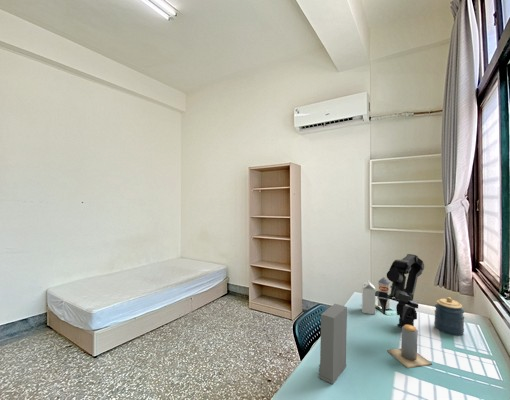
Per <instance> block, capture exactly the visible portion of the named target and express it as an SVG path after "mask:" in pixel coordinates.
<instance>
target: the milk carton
mask: <svg viewBox="0 0 510 400" xmlns="http://www.w3.org/2000/svg"><path fill="white" fill-rule="evenodd" d="M361 287H362V289H361V291H362V293H361V311H362V313H364V314H369V315H376V296H375V292H376V291H377V290H376V287H375V285H374V284H372V283H371V282H370V279H368V281H365V282H363V283H362V285H361Z"/></svg>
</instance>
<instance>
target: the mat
mask: <svg viewBox="0 0 510 400" xmlns="http://www.w3.org/2000/svg"><path fill="white" fill-rule="evenodd" d="M387 352H388V353H389V354H390V355H391V356H392V357H394V358H395V359H396V360H397V361H399V362H400V363H401V364H402V365H403V366H404V367H406V368H407V369H410V368H417V367H425V366H432V365H433V363H432V362H431V361H430V360H428V359H427V358H425V357H424V356H423V355H421V354H419V352H417V359H416V360H408V359H405V358H404V357H402V355H401V348H395V349H388V350H387Z"/></svg>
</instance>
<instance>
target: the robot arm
mask: <svg viewBox="0 0 510 400" xmlns="http://www.w3.org/2000/svg"><path fill="white" fill-rule="evenodd" d="M424 270H425V263H424V261H423V260H422V259H421V258H420V257H419V256H418V255H417V254H412V253H407V254H406V256H405V257H403V258H401V259H394V261H393V262H392V263H391V265H390V267H389V269H388V271H387V272H386V279H387V280H388V281H389V282H391V285H390V294H389V295H388V294H387V293H385V292H382V291H378V290H376V292H375V297H376V298H377V300H378V299H379V301H380V304H381V307H382V310H381V311H382V314H383V315H386V311H387V310H386V303H387V300H386V298H387V299H390V300H392V301H395V302H398V303H397V304H396V309H395V311H396V315H397V316H399V318H398V323H397V327H400V328H401V329H402V327H403V326H404V325H412V326H414V325H415V323H414V321H415V320H418V312H417V311H416V309H419V302H417V301H414V296H415V291H416V287H417V282H418V278H419V276H422V274H423V272H424ZM414 327H415V326H414Z"/></svg>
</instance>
